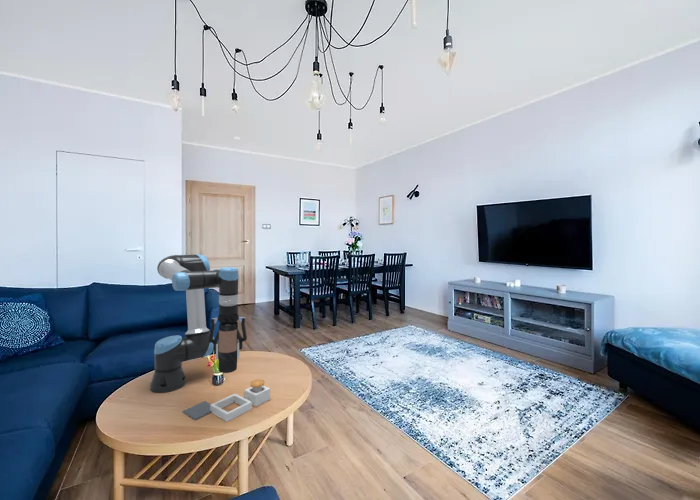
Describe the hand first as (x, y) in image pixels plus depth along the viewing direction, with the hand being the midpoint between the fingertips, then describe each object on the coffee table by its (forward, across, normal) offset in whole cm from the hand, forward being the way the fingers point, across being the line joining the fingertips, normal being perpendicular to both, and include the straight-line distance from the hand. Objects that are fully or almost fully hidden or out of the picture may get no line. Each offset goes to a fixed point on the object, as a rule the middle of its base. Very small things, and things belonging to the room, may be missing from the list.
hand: (228, 357), depth 132 cm
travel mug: (+5, 0, 0) cm, 5 cm away
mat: (+23, -11, +1) cm, 25 cm away
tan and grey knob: (+22, +12, +6) cm, 26 cm away
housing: (+23, +12, +6) cm, 26 cm away
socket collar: (+23, +2, -1) cm, 23 cm away
